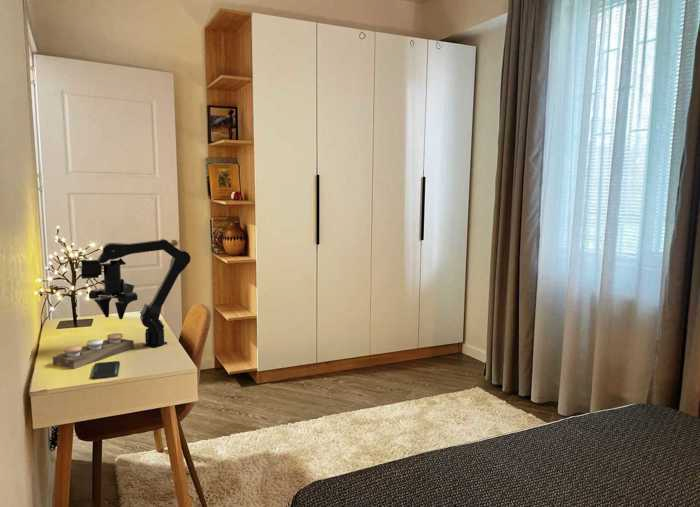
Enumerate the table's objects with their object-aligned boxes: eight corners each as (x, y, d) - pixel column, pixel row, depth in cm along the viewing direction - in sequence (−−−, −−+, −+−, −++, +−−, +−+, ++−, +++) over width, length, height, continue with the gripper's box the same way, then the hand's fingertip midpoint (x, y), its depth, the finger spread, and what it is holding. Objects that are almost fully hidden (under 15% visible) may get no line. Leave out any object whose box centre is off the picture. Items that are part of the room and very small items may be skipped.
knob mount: (133, 348, 199) (133, 340, 199) (74, 368, 175) (73, 360, 175) (114, 345, 203) (113, 337, 202) (53, 364, 179) (52, 356, 179)
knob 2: (125, 344, 198) (125, 334, 198) (114, 347, 194) (114, 337, 193) (115, 342, 200) (115, 332, 200) (104, 346, 196) (104, 336, 195)
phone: (119, 360, 182) (117, 374, 168) (119, 363, 182) (117, 377, 168) (94, 363, 179) (90, 377, 165) (94, 366, 179) (90, 380, 165)
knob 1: (85, 357, 182) (85, 346, 182) (72, 361, 177) (71, 350, 177) (74, 355, 184) (74, 345, 184) (61, 359, 179) (61, 349, 179)
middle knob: (106, 350, 190) (106, 340, 190) (94, 354, 185) (94, 344, 185) (96, 348, 192) (95, 338, 192) (84, 352, 187) (83, 342, 187)
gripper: (147, 275, 198) (149, 316, 200) (111, 272, 205) (112, 311, 207) (124, 280, 188) (126, 322, 190) (87, 276, 195) (89, 317, 197)
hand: (114, 318), depth 196 cm, fingers open, 7 cm apart
